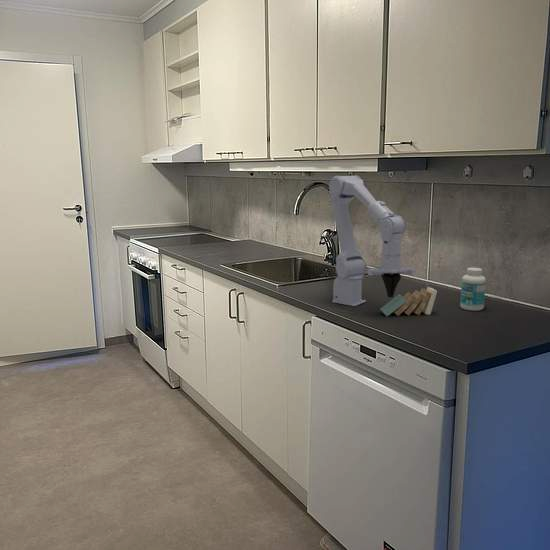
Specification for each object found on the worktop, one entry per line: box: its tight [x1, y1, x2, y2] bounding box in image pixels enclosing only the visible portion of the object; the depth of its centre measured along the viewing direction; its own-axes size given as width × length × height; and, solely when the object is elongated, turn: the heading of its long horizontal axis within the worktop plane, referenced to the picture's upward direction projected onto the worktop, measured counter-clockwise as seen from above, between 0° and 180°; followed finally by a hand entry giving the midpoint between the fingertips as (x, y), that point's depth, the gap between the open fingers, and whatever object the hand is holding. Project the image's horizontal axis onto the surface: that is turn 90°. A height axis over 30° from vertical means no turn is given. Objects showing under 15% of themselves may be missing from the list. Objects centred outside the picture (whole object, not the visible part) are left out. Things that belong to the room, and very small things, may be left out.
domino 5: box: [421, 286, 438, 316], centre depth 172 cm, size 2×5×8 cm, turn 5°
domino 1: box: [380, 294, 407, 317], centre depth 171 cm, size 2×5×8 cm
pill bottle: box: [459, 267, 487, 312], centre depth 176 cm, size 8×7×14 cm
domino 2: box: [393, 291, 416, 317], centre depth 171 cm, size 2×5×8 cm
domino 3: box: [402, 289, 424, 316], centre depth 171 cm, size 2×5×8 cm
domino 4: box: [412, 287, 432, 316], centre depth 172 cm, size 2×5×8 cm, turn 5°
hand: (390, 296), depth 170 cm, fingers closed
